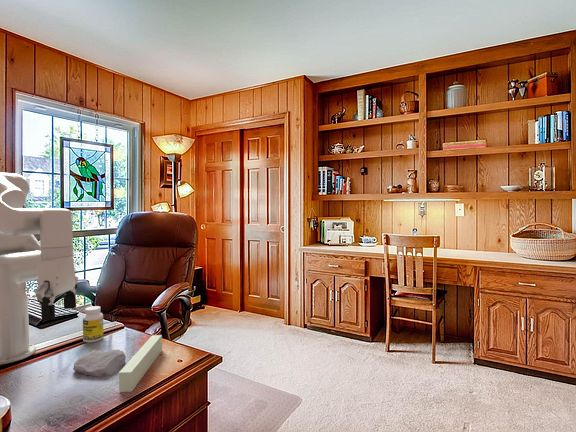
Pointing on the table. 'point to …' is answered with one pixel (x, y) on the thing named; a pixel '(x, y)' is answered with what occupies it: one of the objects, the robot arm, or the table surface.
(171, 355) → the table surface
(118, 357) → the grey rock
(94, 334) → the pill bottle
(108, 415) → the table surface
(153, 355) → the board
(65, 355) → the table surface
